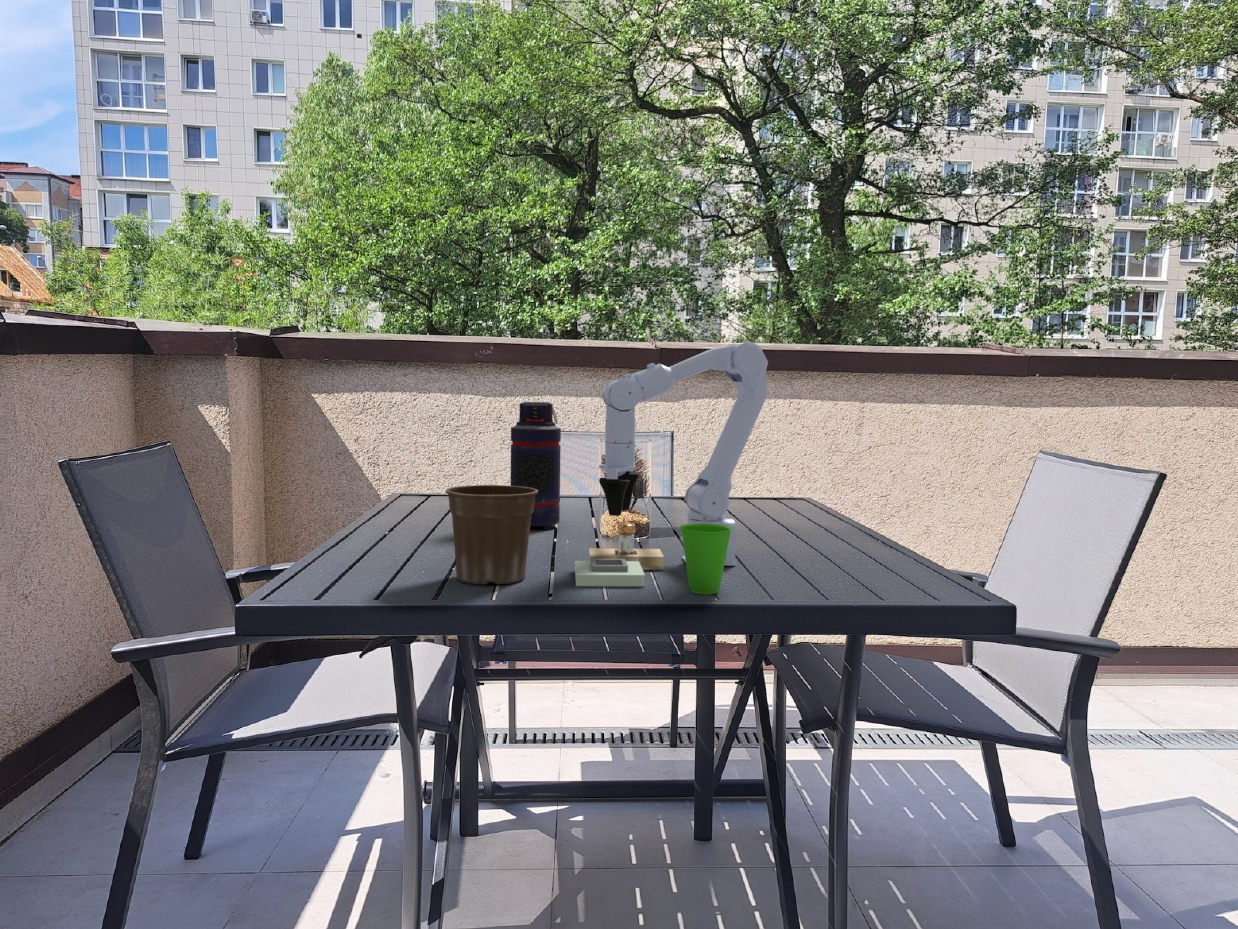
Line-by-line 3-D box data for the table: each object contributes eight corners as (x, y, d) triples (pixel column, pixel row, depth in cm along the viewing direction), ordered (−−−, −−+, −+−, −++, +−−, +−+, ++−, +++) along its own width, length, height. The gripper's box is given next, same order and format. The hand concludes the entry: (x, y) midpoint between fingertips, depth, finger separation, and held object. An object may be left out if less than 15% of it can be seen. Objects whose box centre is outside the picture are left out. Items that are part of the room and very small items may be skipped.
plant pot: (481, 565, 174) (482, 481, 172) (553, 575, 166) (555, 488, 165) (426, 581, 159) (426, 490, 158) (502, 593, 152) (503, 497, 150)
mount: (659, 561, 181) (659, 548, 181) (663, 569, 173) (664, 556, 173) (588, 560, 180) (589, 548, 180) (590, 569, 172) (590, 556, 172)
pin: (633, 563, 178) (634, 523, 177) (635, 567, 175) (636, 526, 174) (616, 563, 178) (617, 523, 177) (617, 567, 175) (618, 525, 174)
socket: (638, 571, 171) (638, 556, 170) (644, 586, 159) (645, 569, 158) (574, 571, 170) (574, 555, 169) (576, 586, 158) (576, 569, 157)
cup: (739, 595, 153) (741, 531, 152) (688, 598, 151) (690, 532, 150) (718, 583, 162) (720, 522, 161) (670, 586, 159) (672, 524, 158)
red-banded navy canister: (558, 531, 214) (559, 403, 211) (507, 530, 213) (508, 402, 211) (560, 522, 227) (562, 402, 225) (513, 521, 227) (514, 401, 224)
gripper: (608, 439, 182) (607, 506, 184) (590, 444, 168) (590, 517, 170) (642, 440, 181) (642, 508, 182) (627, 445, 167) (627, 518, 168)
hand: (619, 512), depth 176 cm, fingers open, 7 cm apart
